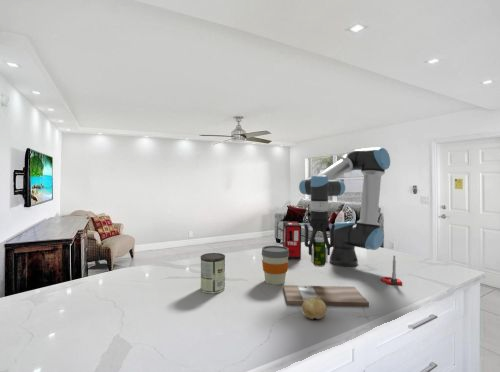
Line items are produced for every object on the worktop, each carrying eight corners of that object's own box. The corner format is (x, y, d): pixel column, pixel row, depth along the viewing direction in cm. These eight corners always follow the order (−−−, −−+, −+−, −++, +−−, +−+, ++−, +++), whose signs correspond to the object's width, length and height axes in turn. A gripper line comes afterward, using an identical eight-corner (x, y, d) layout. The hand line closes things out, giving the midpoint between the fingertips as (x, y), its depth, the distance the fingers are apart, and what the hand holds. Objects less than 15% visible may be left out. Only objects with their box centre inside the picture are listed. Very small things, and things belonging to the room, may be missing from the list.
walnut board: (283, 288, 123) (283, 284, 123) (354, 290, 123) (354, 286, 123) (287, 304, 108) (287, 300, 107) (368, 306, 107) (369, 301, 107)
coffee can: (207, 283, 129) (207, 251, 128) (228, 286, 125) (229, 254, 125) (195, 291, 119) (195, 257, 119) (218, 295, 116) (218, 260, 115)
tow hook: (378, 278, 140) (384, 284, 130) (379, 251, 140) (385, 255, 131) (397, 279, 138) (404, 285, 129) (397, 252, 139) (404, 256, 130)
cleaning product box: (282, 252, 187) (283, 221, 186) (296, 252, 186) (297, 221, 186) (285, 259, 170) (286, 225, 170) (300, 259, 170) (301, 225, 170)
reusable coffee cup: (292, 279, 136) (292, 247, 135) (283, 288, 124) (284, 253, 124) (267, 275, 141) (267, 244, 141) (256, 283, 130) (257, 250, 129)
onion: (321, 325, 93) (321, 303, 93) (298, 318, 97) (298, 297, 97) (328, 315, 100) (329, 294, 99) (306, 309, 104) (307, 290, 104)
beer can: (316, 262, 133) (316, 236, 133) (327, 265, 130) (327, 238, 129) (310, 265, 129) (310, 238, 129) (321, 267, 125) (322, 240, 125)
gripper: (299, 211, 125) (299, 264, 126) (342, 211, 125) (342, 264, 125) (297, 209, 132) (297, 259, 133) (337, 209, 132) (337, 260, 133)
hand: (319, 262), depth 129 cm, fingers closed on beer can, 5 cm apart
